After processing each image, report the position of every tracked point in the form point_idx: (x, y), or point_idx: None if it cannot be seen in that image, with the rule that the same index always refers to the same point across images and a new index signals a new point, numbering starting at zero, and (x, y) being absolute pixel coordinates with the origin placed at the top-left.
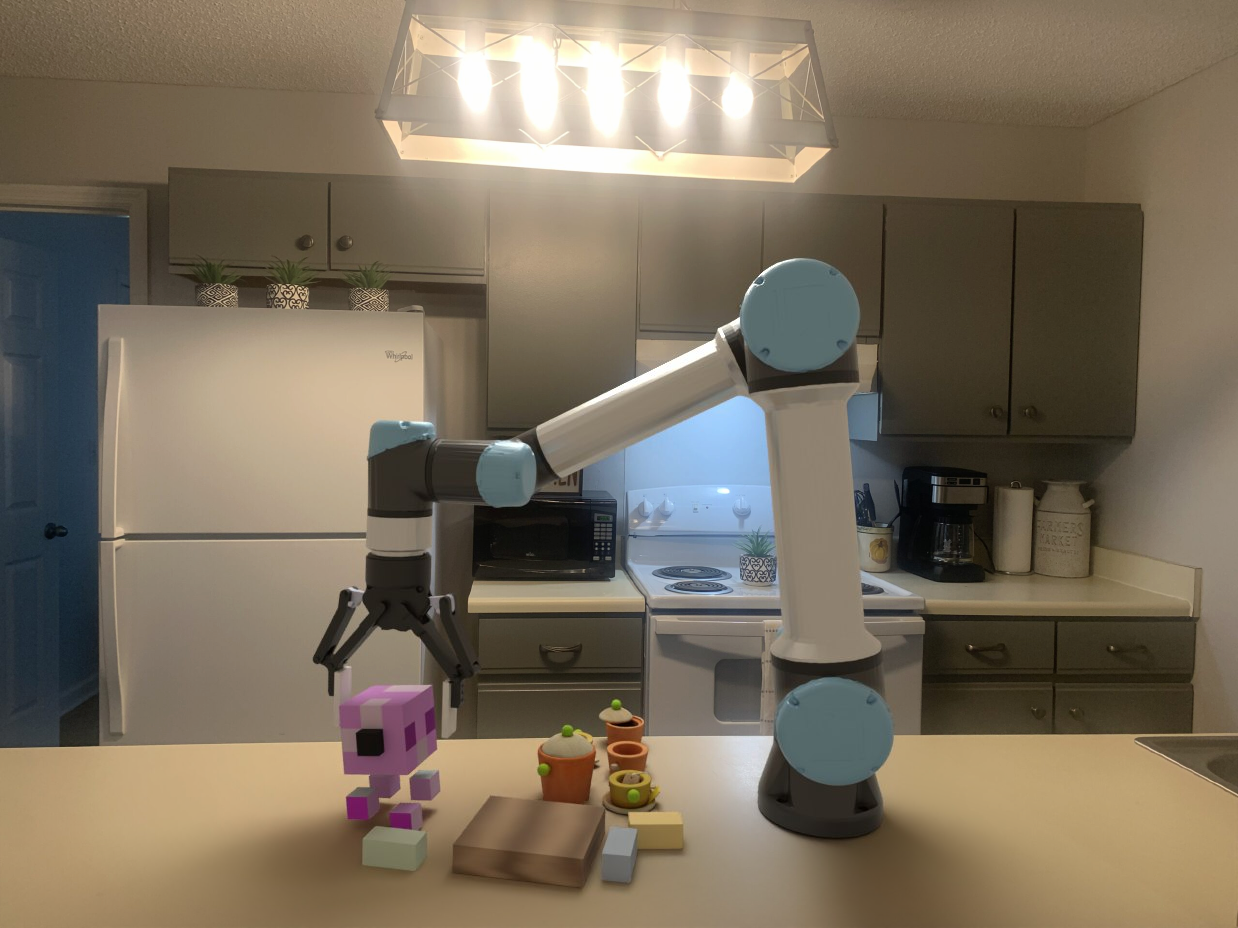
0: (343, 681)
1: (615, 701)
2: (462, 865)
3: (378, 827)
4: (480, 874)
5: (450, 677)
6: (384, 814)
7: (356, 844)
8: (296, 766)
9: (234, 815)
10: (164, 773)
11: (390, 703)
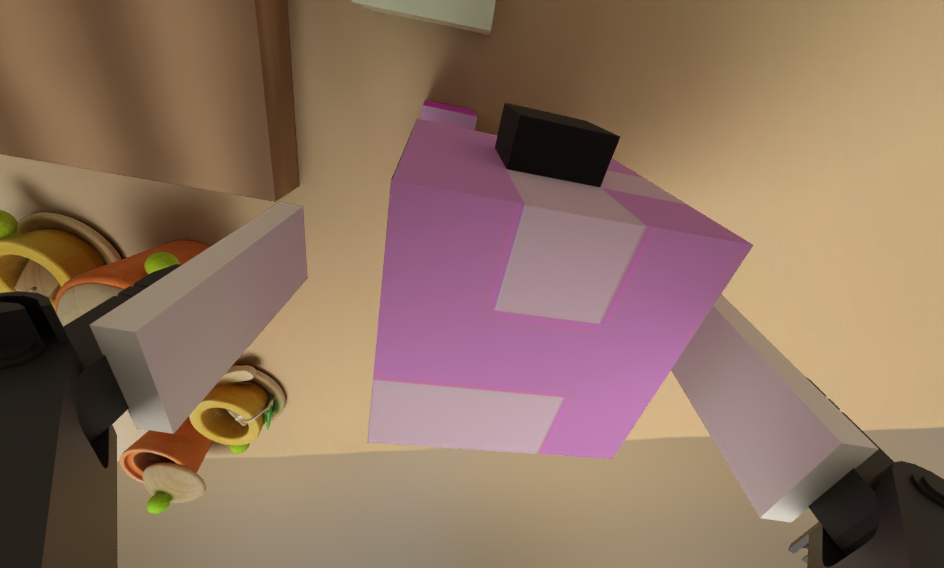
0: (771, 415)
1: (152, 508)
2: None
3: (480, 19)
4: None
5: (52, 353)
6: None
7: (537, 65)
8: None
9: (809, 188)
10: (939, 342)
11: (480, 231)
